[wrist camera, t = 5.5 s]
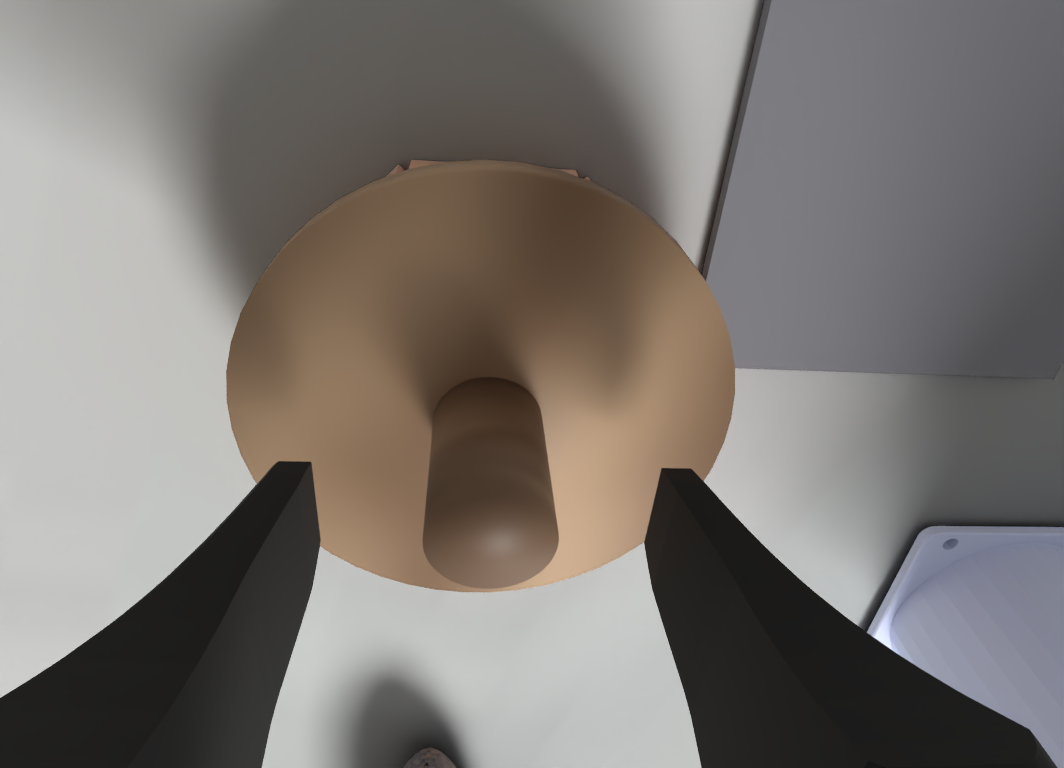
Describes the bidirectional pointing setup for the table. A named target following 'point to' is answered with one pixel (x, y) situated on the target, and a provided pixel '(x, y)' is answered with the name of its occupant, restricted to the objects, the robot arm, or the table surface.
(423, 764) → the perforated stone tool
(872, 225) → the mat
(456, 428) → the lid
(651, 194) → the table surface
